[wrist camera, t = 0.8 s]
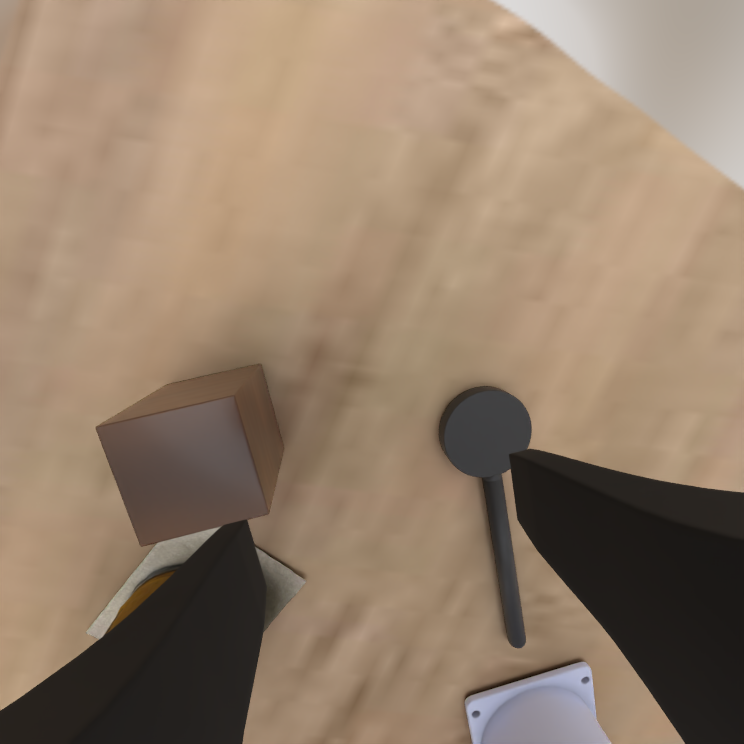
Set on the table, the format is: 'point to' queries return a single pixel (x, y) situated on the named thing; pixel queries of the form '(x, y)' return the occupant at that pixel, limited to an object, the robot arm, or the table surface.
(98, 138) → the table surface
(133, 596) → the condiment
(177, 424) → the walnut block
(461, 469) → the serving spoon
